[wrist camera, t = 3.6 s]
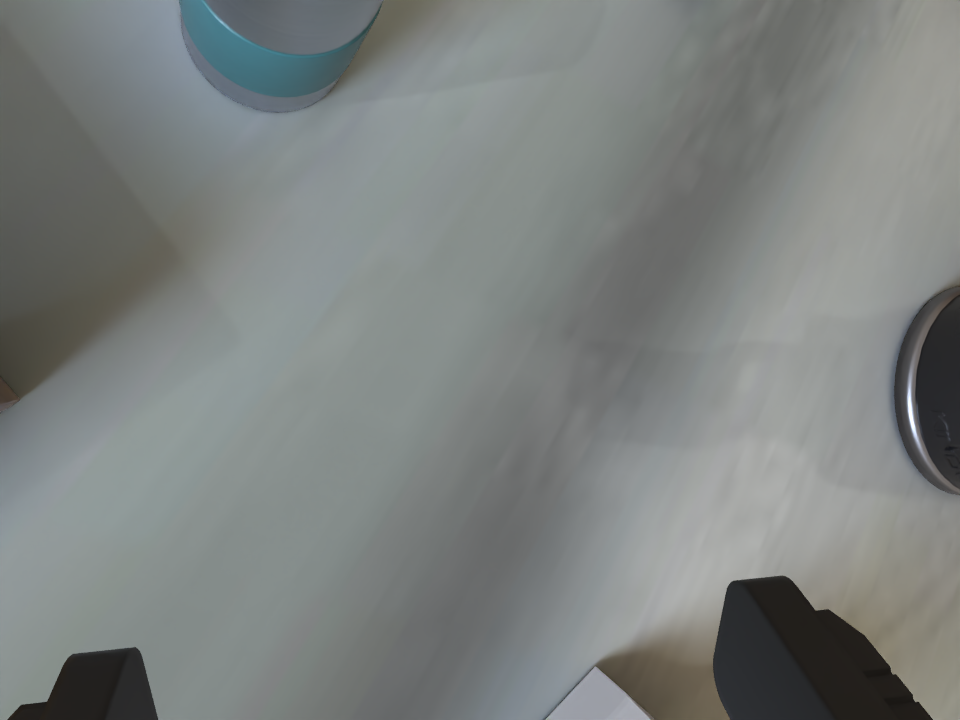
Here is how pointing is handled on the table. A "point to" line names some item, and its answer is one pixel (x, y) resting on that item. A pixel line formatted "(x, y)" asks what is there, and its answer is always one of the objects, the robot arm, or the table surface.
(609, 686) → the white rounded block
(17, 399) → the stand
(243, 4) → the silver teal canister
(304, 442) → the table surface
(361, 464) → the table surface
